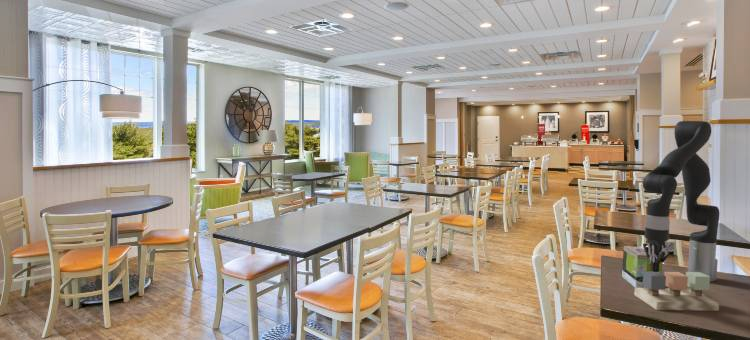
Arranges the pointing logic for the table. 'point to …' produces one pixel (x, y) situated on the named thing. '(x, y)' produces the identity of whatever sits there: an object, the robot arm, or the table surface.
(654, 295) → the key board
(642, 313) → the table surface
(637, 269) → the tea box
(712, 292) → the table surface
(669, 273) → the terracotta key
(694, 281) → the sage green cube
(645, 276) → the grey cube
